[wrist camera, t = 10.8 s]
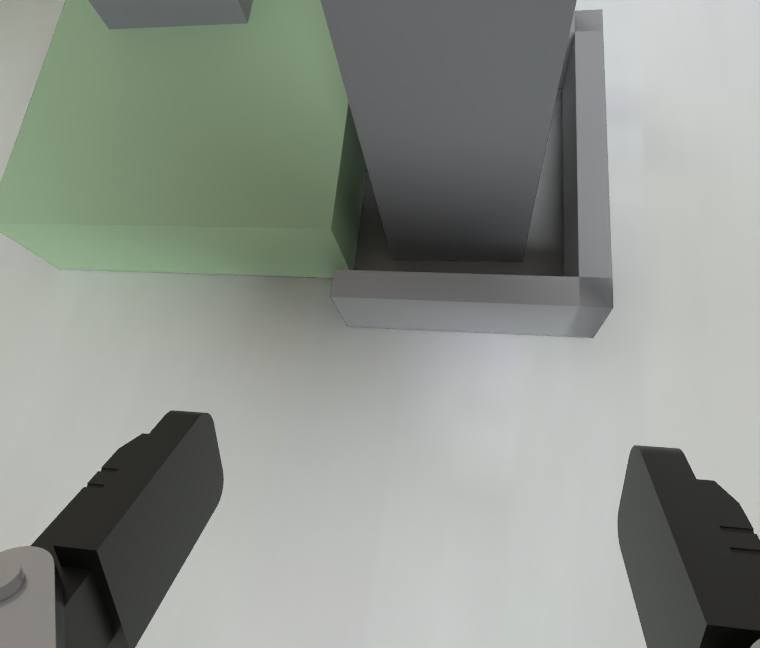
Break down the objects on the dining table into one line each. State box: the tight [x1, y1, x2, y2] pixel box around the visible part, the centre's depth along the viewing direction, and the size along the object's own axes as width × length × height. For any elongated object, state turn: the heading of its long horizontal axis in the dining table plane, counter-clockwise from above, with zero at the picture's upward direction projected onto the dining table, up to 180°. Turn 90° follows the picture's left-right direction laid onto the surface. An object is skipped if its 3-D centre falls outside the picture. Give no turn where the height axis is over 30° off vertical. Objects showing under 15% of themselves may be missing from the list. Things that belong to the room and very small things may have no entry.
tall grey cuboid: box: [321, 0, 576, 262], centre depth 18 cm, size 5×6×12 cm
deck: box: [0, 0, 613, 338], centre depth 21 cm, size 22×20×10 cm
